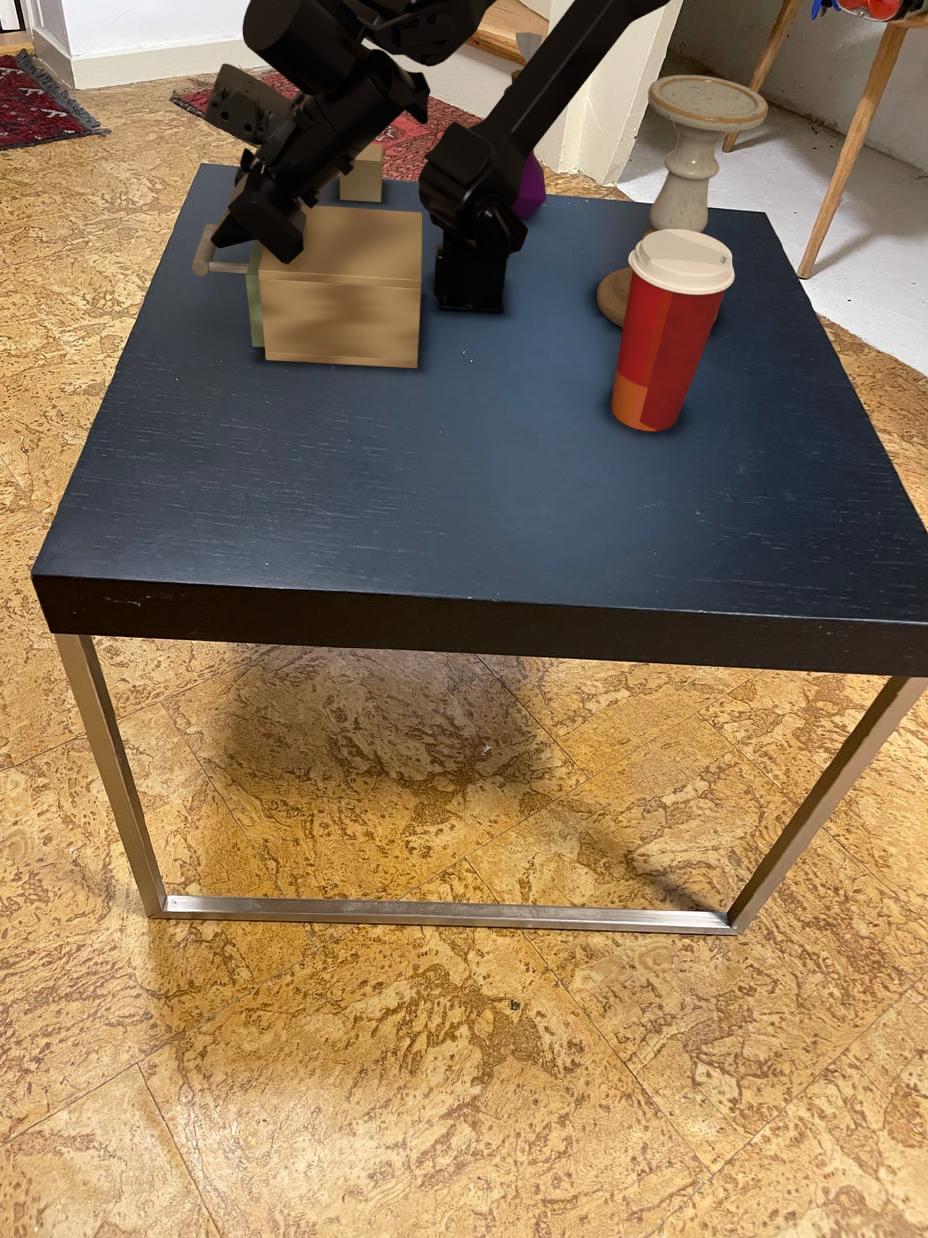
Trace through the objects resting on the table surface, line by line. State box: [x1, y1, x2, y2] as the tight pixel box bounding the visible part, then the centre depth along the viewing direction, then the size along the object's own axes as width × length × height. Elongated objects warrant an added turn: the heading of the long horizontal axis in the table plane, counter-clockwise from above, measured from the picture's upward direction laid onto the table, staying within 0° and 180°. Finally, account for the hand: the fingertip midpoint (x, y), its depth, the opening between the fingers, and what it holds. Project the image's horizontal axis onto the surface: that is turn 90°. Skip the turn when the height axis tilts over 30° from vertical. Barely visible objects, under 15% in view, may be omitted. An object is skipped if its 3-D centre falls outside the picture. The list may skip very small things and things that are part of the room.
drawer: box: [191, 223, 265, 348], centre depth 86 cm, size 17×11×7 cm, turn 91°
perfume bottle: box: [503, 31, 547, 220], centre depth 103 cm, size 8×8×18 cm
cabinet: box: [258, 204, 423, 369], centre depth 87 cm, size 14×13×9 cm
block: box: [339, 143, 384, 203], centre depth 108 cm, size 5×5×5 cm
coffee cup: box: [611, 229, 736, 432], centre depth 79 cm, size 8×8×15 cm
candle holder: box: [596, 74, 769, 329], centre depth 90 cm, size 12×12×20 cm
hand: (214, 242), depth 83 cm, fingers closed
